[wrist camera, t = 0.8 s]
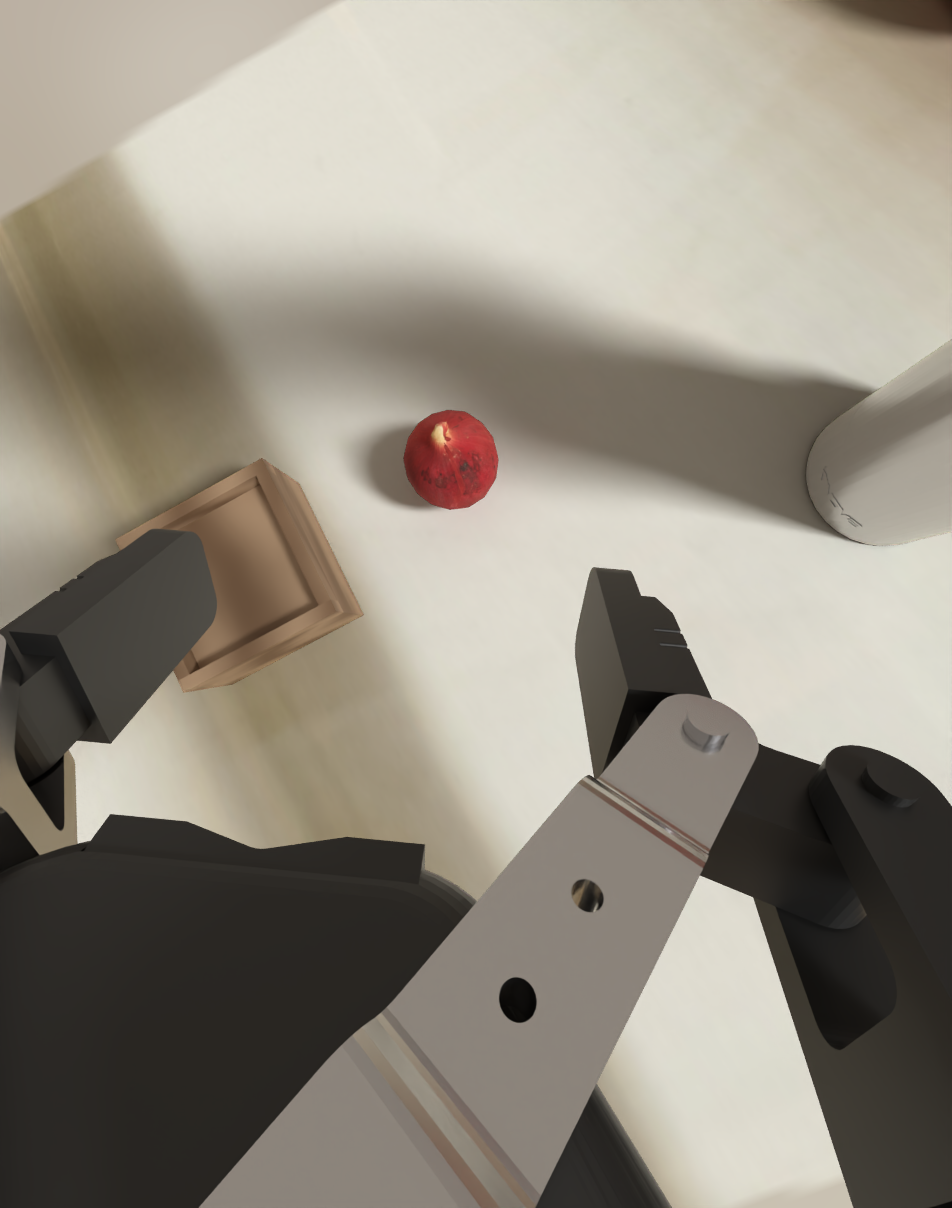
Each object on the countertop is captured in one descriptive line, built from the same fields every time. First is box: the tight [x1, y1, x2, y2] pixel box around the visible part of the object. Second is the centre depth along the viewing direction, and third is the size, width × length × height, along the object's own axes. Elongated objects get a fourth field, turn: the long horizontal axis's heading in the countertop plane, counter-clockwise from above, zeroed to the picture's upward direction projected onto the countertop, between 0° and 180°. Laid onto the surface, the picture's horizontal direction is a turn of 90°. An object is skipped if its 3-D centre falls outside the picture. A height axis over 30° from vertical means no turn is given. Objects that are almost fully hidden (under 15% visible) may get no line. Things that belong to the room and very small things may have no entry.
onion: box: [403, 410, 498, 510], centre depth 31 cm, size 6×6×8 cm
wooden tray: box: [115, 458, 364, 693], centre depth 33 cm, size 11×11×5 cm
